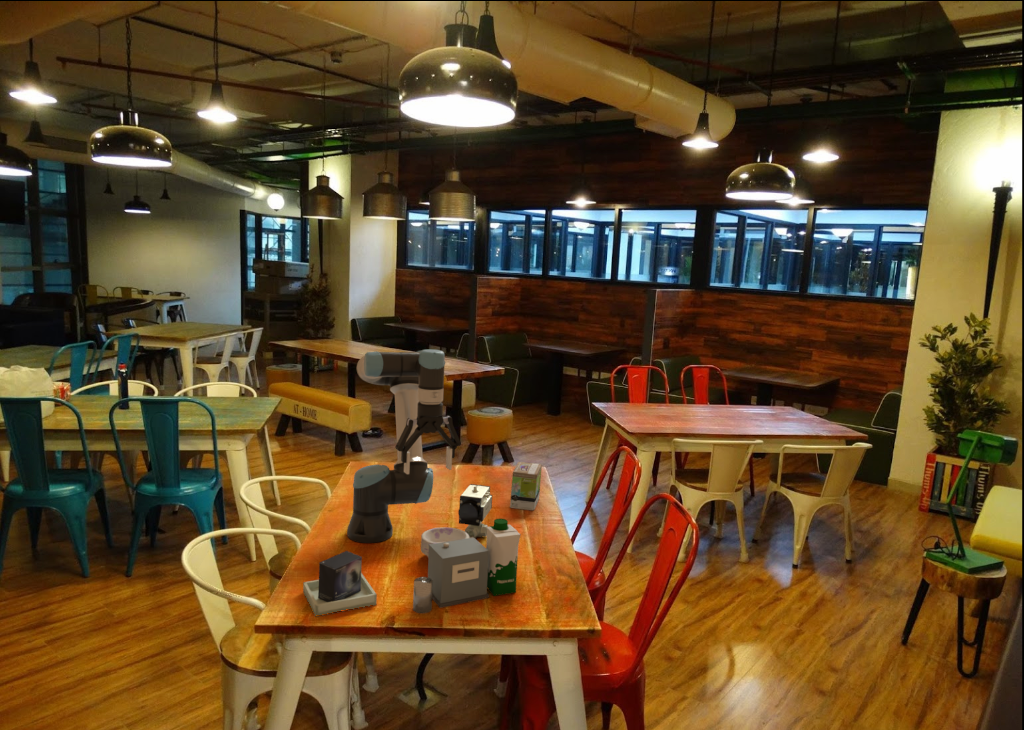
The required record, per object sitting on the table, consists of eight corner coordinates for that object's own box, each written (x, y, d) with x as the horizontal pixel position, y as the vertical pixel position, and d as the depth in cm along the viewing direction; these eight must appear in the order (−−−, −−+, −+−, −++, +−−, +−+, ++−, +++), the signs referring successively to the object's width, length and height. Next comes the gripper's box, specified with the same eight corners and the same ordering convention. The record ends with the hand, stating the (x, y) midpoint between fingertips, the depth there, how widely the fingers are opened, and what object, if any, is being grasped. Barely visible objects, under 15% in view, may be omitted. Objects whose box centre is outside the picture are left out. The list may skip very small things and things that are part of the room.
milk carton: (508, 580, 210) (511, 516, 207) (520, 593, 202) (524, 528, 199) (480, 584, 206) (483, 519, 203) (492, 598, 198) (495, 531, 195)
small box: (334, 606, 187) (334, 569, 185) (317, 598, 190) (317, 562, 189) (362, 591, 196) (363, 556, 194) (345, 584, 199) (346, 549, 198)
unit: (424, 590, 201) (426, 541, 198) (472, 581, 208) (474, 533, 205) (439, 607, 191) (441, 556, 189) (488, 597, 198) (491, 548, 196)
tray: (303, 592, 196) (303, 582, 195) (361, 582, 203) (361, 572, 203) (315, 616, 183) (315, 606, 183) (376, 604, 191) (376, 594, 190)
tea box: (535, 511, 268) (537, 474, 266) (509, 508, 270) (511, 471, 268) (539, 498, 283) (542, 463, 281) (515, 495, 285) (517, 460, 282)
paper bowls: (450, 545, 233) (451, 522, 232) (477, 561, 221) (479, 538, 220) (411, 555, 223) (412, 532, 222) (437, 573, 212) (438, 548, 210)
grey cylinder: (410, 606, 191) (411, 578, 190) (427, 602, 194) (428, 575, 192) (416, 614, 187) (417, 586, 186) (434, 611, 189) (435, 583, 188)
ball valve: (480, 547, 232) (483, 496, 229) (456, 544, 234) (458, 493, 231) (493, 527, 249) (495, 480, 247) (470, 525, 251) (472, 477, 248)
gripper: (394, 406, 199) (392, 478, 202) (473, 402, 211) (470, 470, 214) (385, 401, 205) (384, 471, 208) (463, 397, 217) (460, 463, 220)
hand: (427, 470), depth 211 cm, fingers open, 13 cm apart
